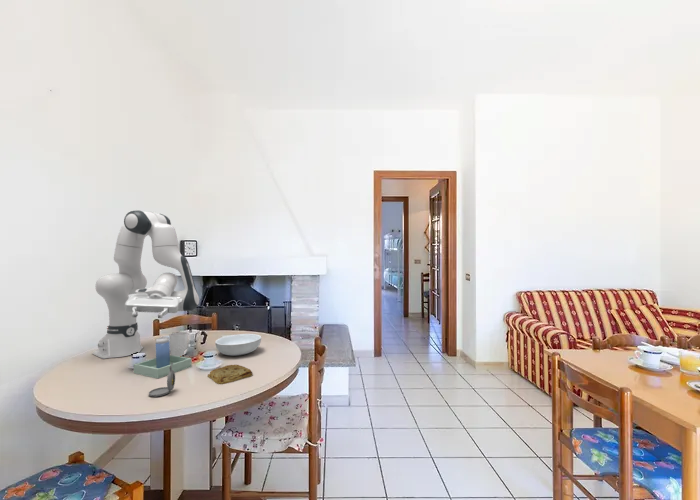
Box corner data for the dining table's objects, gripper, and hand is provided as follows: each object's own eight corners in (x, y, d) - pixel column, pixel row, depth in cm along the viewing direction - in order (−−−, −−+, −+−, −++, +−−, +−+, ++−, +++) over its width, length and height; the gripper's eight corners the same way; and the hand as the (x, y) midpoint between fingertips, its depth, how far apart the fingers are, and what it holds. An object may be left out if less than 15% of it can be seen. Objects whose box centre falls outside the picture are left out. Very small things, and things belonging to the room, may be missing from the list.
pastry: (217, 369, 143) (217, 362, 143) (259, 369, 142) (259, 362, 142) (197, 385, 126) (197, 377, 126) (244, 385, 125) (244, 377, 125)
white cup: (180, 358, 159) (180, 336, 159) (165, 357, 160) (165, 335, 160) (191, 353, 166) (191, 332, 166) (177, 352, 168) (177, 331, 168)
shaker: (153, 369, 141) (152, 339, 141) (164, 365, 146) (163, 336, 146) (161, 370, 139) (160, 340, 139) (172, 366, 143) (171, 337, 144)
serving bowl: (228, 346, 177) (228, 333, 177) (267, 347, 174) (267, 333, 174) (206, 359, 156) (206, 343, 156) (250, 360, 153) (250, 344, 153)
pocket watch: (145, 394, 117) (145, 364, 117) (172, 386, 124) (171, 358, 124) (154, 400, 112) (153, 369, 112) (181, 392, 118) (180, 363, 118)
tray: (133, 373, 139) (133, 364, 139) (168, 362, 152) (168, 354, 152) (158, 378, 132) (157, 369, 132) (191, 366, 146) (191, 358, 146)
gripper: (184, 303, 155) (175, 323, 143) (133, 301, 151) (120, 321, 138) (183, 291, 152) (174, 311, 140) (132, 289, 148) (118, 309, 136)
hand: (146, 316), depth 139 cm, fingers open, 8 cm apart
